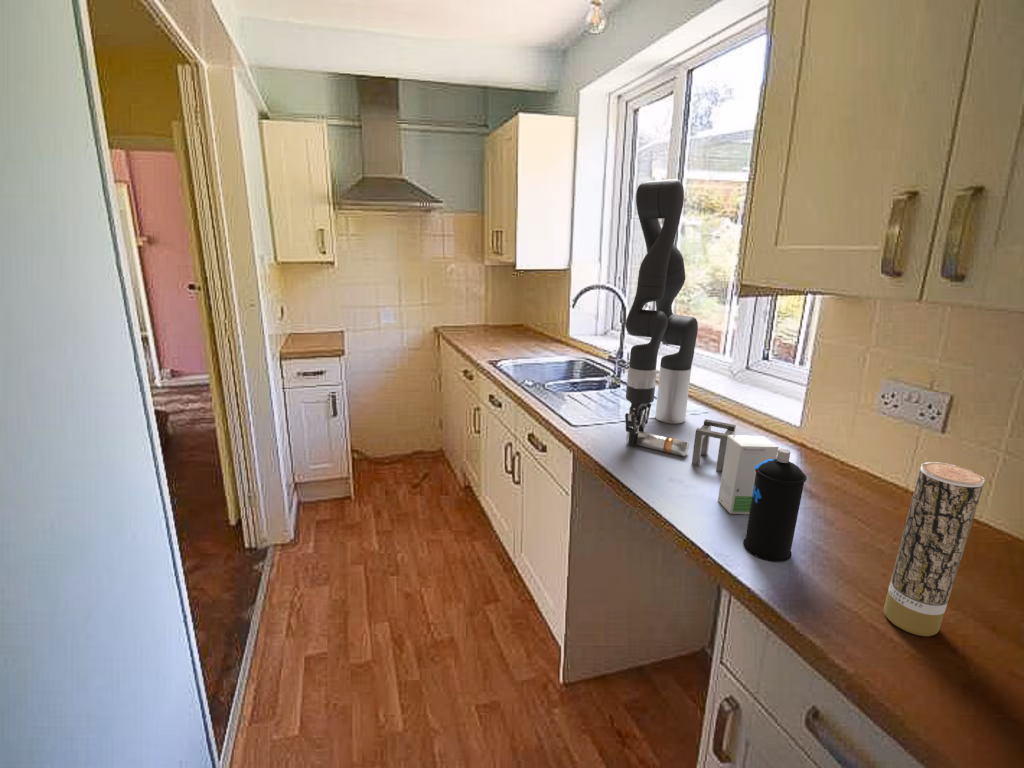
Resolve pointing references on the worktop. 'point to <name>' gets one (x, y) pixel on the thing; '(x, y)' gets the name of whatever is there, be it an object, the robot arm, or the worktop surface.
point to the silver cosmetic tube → (662, 443)
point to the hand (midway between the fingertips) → (635, 442)
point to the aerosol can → (774, 508)
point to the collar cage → (703, 441)
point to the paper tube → (932, 546)
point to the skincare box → (742, 470)
